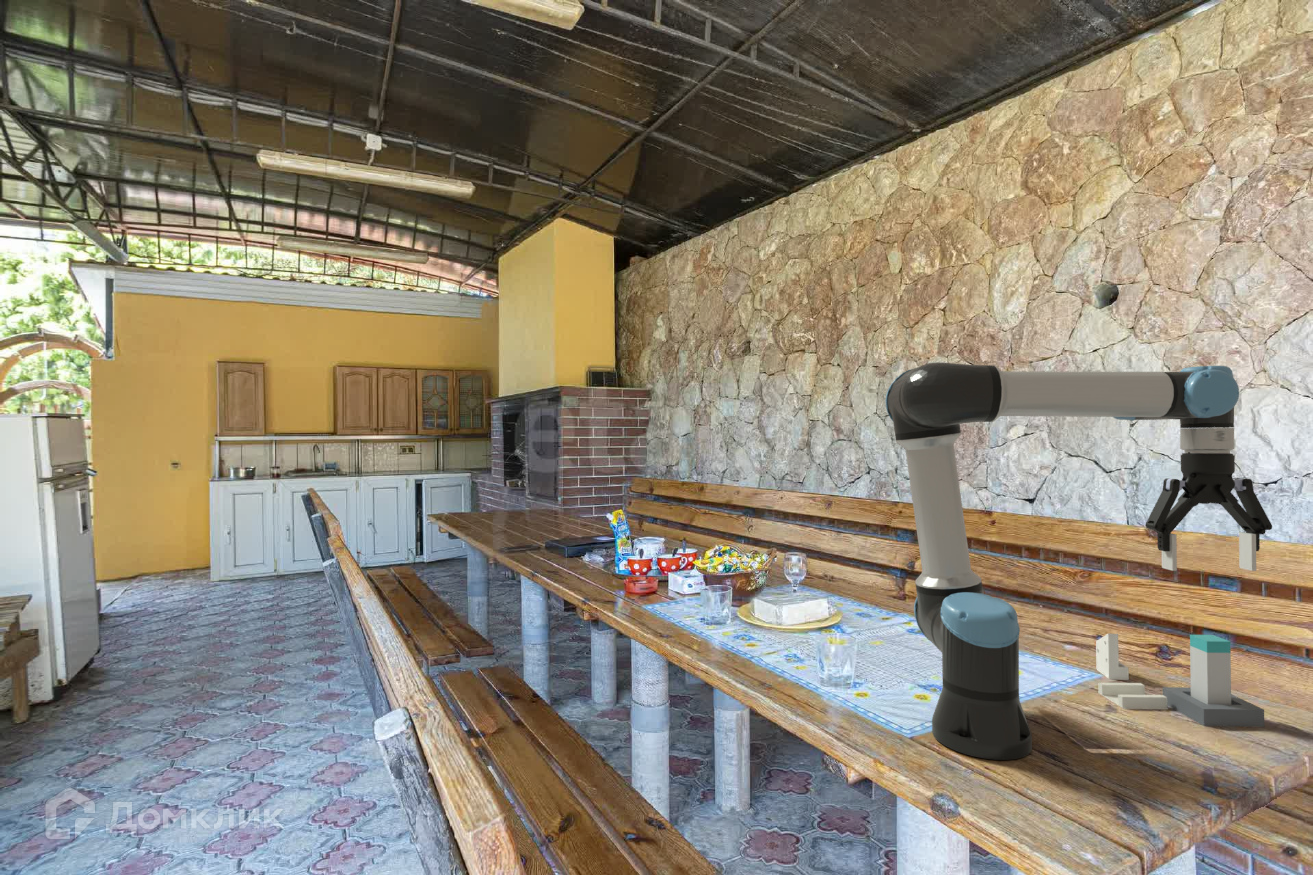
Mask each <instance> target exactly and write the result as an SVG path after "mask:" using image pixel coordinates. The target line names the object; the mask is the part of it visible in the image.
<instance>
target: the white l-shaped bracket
mask: <svg viewBox="0 0 1313 875" xmlns="http://www.w3.org/2000/svg"><path fill="white" fill-rule="evenodd" d="M1095 654H1096V655H1095V659H1096V660H1095V662H1096V663H1095V666H1096V670H1097V672H1099V673H1100V674H1102V675H1103V676H1104V677H1106V678H1107V679H1109V680H1119V681H1121V680H1122V681H1129V680H1130V678H1129V668H1130V667H1128V666H1127V665H1125V664H1124V663H1122V662H1120V661H1119V659H1120V658H1119V634H1118V633H1107V634H1105V635H1103V636H1102V637H1100V638H1099V639H1097V640H1096V641H1095Z"/></svg>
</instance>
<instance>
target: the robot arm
mask: <svg viewBox="0 0 1313 875" xmlns="http://www.w3.org/2000/svg"><path fill="white" fill-rule="evenodd" d="M1239 397H1240V387H1239V385H1238V382H1237V380H1236V379H1235V378H1234V372H1233V370H1232V369H1231V367H1229V366H1227V365H1203V366H1201V365H1200V366H1198V365H1197V366H1188V367H1184V368H1182V369H1181V370H1180V371H1012V370H1011V371H1010V370H1009V371H1007V370H1006V371H1004V370H1003V371H1002V370H1001V369H1000V368H999V367H998V366H996V365H993V364H991V365H983V364H982V365H980V364H965V363H964V364H963V363H953V362H952V363H951V362H941V361H940V362H937V361H936V362H928V363H926V364H923V365H921V366H918V367H915V368H911V369H908V370H906V371H904V372H902V373H901V374H899V375H898V376H896V378H895V379H894V380H893V381H892V383H891V384H890V385H889V387H888V389H887V392H886V394H885V408H886V412H887V414H888V416H889V418H890V420H891V421H892V424H893V430H894V436H895V437H894V438H895V442H896V443H897V444H898V445H899V446H901V447H902V448H903V449H904V450H905V456H906V462H907V463H906V464H907V470H908V477H909V478H908V479H909V485H910V493H911V500H912V507H913V514H914V522H915V528H916V534H917V535H916V538H917V542H918V550H919V556H920V566H921V573H920V575H919V576H918V577H917V578H916V579H915V582H914V583H915V590H916V597H915V600H914V605H913V614H914V615H913V616H914V618H915V619H914V620H915V622H916V625H917V626H918V629H919V630H920V632H921V633H922V634H923V636H924V637H925V638H926V639H927V640H928V641H930V642H931V643H932V644H933V645H934V646H935V648H937V649H938V650H939V651H940V652H941V657H942V658H941V659H942V660H941V662H942V664H941V666H942V668H941V670H942V688H941V692H940V695H939V698H938V700H937V703H936V707H935V709H934V712H933V715H932V717H931V718H932V719H931V733H932V735H933V737H934V739H936V740H937V741H938V742H939V743H940V744H942V745H943V746H945V747H947V748H949V749H951V750H953V751H955V752H957V753H961V754H964V755H967V756H971V757H974V758H975V757H976V758H980V759H985V760H995V761H1009V760H1010V761H1011V760H1016V759H1017V760H1018V759H1021V758H1024V757H1025V758H1026V756H1028V755H1030V754H1031V752H1032V750H1033V743H1032V742H1033V737H1032V731H1031V729H1030V726H1029V723H1028V721H1027V720H1028V719H1027V718H1026V717H1027V716H1026V715H1025V712H1024V709H1023V707H1022V703H1021V701H1020V644H1019V643H1020V642H1019V641H1020V640H1019V639H1020V629H1021V628H1020V624H1019V620H1018V614H1017V611H1016V609H1015V607H1013V605H1012V604H1010V603H1009V602H1008V601H1006V600H1003V599H1001V598H999V597H996V596H995V597H994V596H992V595H989V594H986V593H984V587H983V582H982V577H980V576H979V575H978V574H976V572H974V570H972V569H971V568H972V567H971V559H970V552H969V544H968V538H967V533H966V532H967V531H966V523H965V517H964V511H963V509H964V508H963V503H962V494H961V488H960V482H959V481H960V480H959V475H958V474H959V473H958V467H957V460H956V452H955V443H956V441H957V440H958V439H959V437H960V436H961V435H962V432H961V431H962V430H961V426H960V425H961V424H968V423H969V424H970V423H993V422H995V421H997V419H999V417H1065V418H1066V417H1068V418H1069V417H1073V418H1075V417H1081V418H1082V417H1087V418H1089V417H1090V418H1091V417H1092V418H1103V417H1104V418H1105V417H1106V418H1113V419H1115V420H1119V421H1121V420H1122V421H1131V422H1133V421H1157V420H1159V421H1160V420H1179V424H1180V427H1179V428H1180V430H1179V433H1180V434H1179V436H1180V437H1179V443H1180V444H1179V446H1180V447H1179V449H1180V450H1181V451H1184V452H1183V453H1181V454H1180V471H1181V473H1182V478H1181V480H1180V479H1178V478H1164V479H1163V483H1162V484H1163V485H1162V491H1161V493H1160V495H1159V496H1158V498H1157V501H1156V503H1155V505H1154V506H1153V508H1152V511H1151V512H1150V515H1149V516H1148V519H1147V520H1146V522H1145V525H1144V526H1145V528H1146V529H1149V530H1152V531H1153V532H1156V534H1157V549H1158V551H1161V568H1162V569H1165V570H1168V571H1172V572H1174V571H1175V572H1177V571H1178V566H1177V565H1178V562H1177V561H1178V559H1177V558H1178V555H1177V554H1178V553H1177V552H1178V551H1177V550H1178V549H1177V548H1178V547H1177V534H1176V533H1172V532H1173V531H1174V530H1175V529H1176V528H1177V526H1178V525H1179V524H1180V523H1181V522H1182V521H1183V520H1184V519H1185V517H1186V516H1187V515H1188V513H1190V512H1191V511H1192V509H1194V507H1197V506H1198V505H1199V504H1202V505H1208V504H1215V505H1217V504H1218V505H1220V506H1222V507H1223V509H1224V510H1225V511H1226V512H1227V513H1228V514H1229V515H1230V516H1231V518H1232V519H1233V520H1234V521H1235V522H1236V523H1237V524H1238V526H1240V528H1241V529H1242V530H1243V531H1241V532H1240V531H1239V532H1238V556H1239V557H1238V558H1239V560H1238V561H1239V562H1238V563H1239V569H1242V570H1247V571H1251V572H1256V571H1257V552H1259V551H1260V548H1261V544H1260V543H1261V542H1260V539H1261V538H1260V535H1265V533H1266V531H1271V530H1272V529H1273V525H1272V523H1271V521H1270V519H1269V517H1268V515H1267V513H1266V511H1265V510H1264V508H1263V506H1262V504H1261V502H1260V500H1259V498H1258V497H1257V495H1256V493H1255V491H1254V485H1253V480H1252V479H1251V478H1244V477H1243V478H1242V477H1237V478H1235V479H1234V478H1233V474H1234V473H1235V472H1236V466H1235V465H1236V464H1235V463H1236V462H1235V460H1236V459H1235V458H1236V457H1235V455H1234V454H1233V453H1231V451H1233V450H1234V449H1235V406H1236V405H1237V404H1238V401H1239ZM1182 490H1183V493H1182V494H1180V496H1179V492H1180V491H1182ZM1233 490H1235V493H1236V495H1237V497H1238V498H1239V499H1238V498H1237V497H1236V496H1235V495H1234V494H1233V493H1232V491H1233ZM1178 496H1179V497H1178ZM1177 498H1178V499H1177ZM1176 500H1177V502H1176ZM1239 501H1240V503H1241V504H1240V503H1239ZM1175 502H1176V503H1175ZM1242 506H1243V507H1242ZM1244 531H1245V532H1244Z"/></svg>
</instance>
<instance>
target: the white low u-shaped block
mask: <svg viewBox="0 0 1313 875" xmlns="http://www.w3.org/2000/svg"><path fill="white" fill-rule="evenodd" d="M1097 686H1098V688H1097V689H1098V692H1097V691H1096V692H1097V693H1098V694H1099V695H1100V696H1103V697H1104V698H1105V699H1107V700H1109V701H1111V702H1112V703H1113V704H1114V705H1117V706H1118V707H1120V708H1122V709H1123V710H1169V708H1168V706H1167V697H1165V696H1164V695H1163V694H1146V689H1145V688H1146V686H1145V684H1143V683H1142V682H1098V685H1097Z"/></svg>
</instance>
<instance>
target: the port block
mask: <svg viewBox="0 0 1313 875" xmlns="http://www.w3.org/2000/svg"><path fill="white" fill-rule="evenodd" d="M1162 695H1164V696H1165V697H1167V707H1169V708H1172V709H1173V710H1175V711H1176V712H1178V713H1180V714H1182V715H1184V716H1186V717H1187V718H1189V719H1190V720H1193V721H1194V722H1196V723H1198V724H1200V725H1202V726H1203V727H1250V728H1251V727H1254V728H1256V727H1259V728H1261V727H1262V728H1264V727H1265V709H1264V708H1261V707H1259V706H1257V705H1256V704H1254V703H1252V702H1249V701H1247V700H1245V699H1242V698H1240V697H1239V696H1236V695H1234V694H1232V693H1231V705H1209V704H1205V703H1203V702H1201V701H1199V700H1197V699H1195V698H1193V697H1191V687H1187V686H1186V687H1179V686H1176V687H1175V686H1174V687H1173V686H1172V687H1170V686H1169V687H1168V686H1167V687H1162Z"/></svg>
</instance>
